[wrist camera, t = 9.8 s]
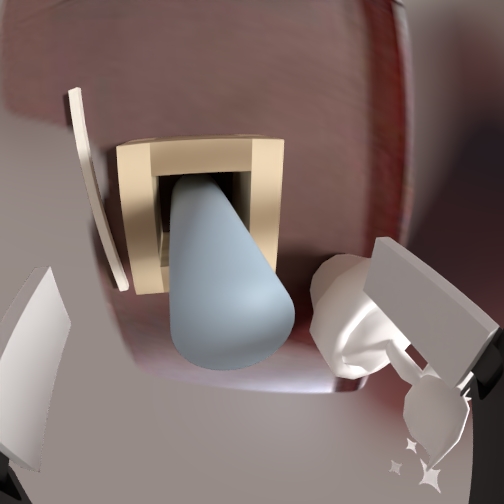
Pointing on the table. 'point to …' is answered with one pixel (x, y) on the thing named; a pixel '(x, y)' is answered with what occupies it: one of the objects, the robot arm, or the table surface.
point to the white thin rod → (94, 187)
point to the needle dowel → (220, 283)
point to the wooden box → (196, 161)
